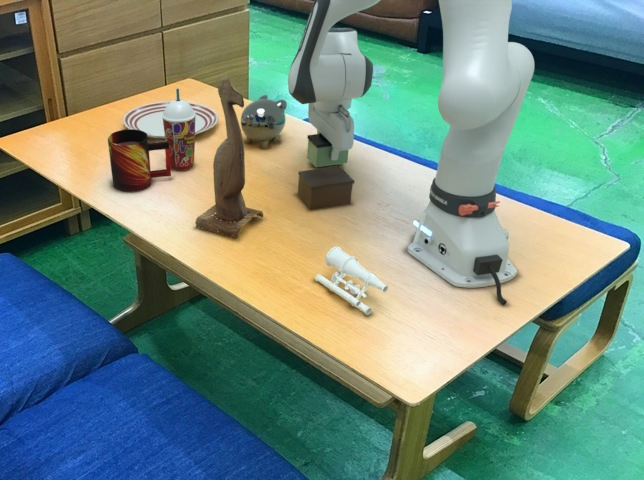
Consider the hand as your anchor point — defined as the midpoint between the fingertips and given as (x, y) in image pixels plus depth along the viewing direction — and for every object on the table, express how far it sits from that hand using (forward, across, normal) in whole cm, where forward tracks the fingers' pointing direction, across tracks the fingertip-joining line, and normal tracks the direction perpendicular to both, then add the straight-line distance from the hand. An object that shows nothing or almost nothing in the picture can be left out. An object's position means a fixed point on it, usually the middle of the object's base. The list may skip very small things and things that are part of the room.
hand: (327, 153), depth 172 cm
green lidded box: (+2, 0, 0) cm, 2 cm away
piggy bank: (+4, +19, +11) cm, 22 cm away
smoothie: (+4, +11, +36) cm, 38 cm away
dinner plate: (+4, +37, +33) cm, 50 cm away
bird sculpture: (+4, -21, +32) cm, 39 cm away
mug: (+4, +6, +48) cm, 48 cm away
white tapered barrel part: (+3, -54, +18) cm, 57 cm away
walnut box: (+3, -17, +8) cm, 19 cm away
